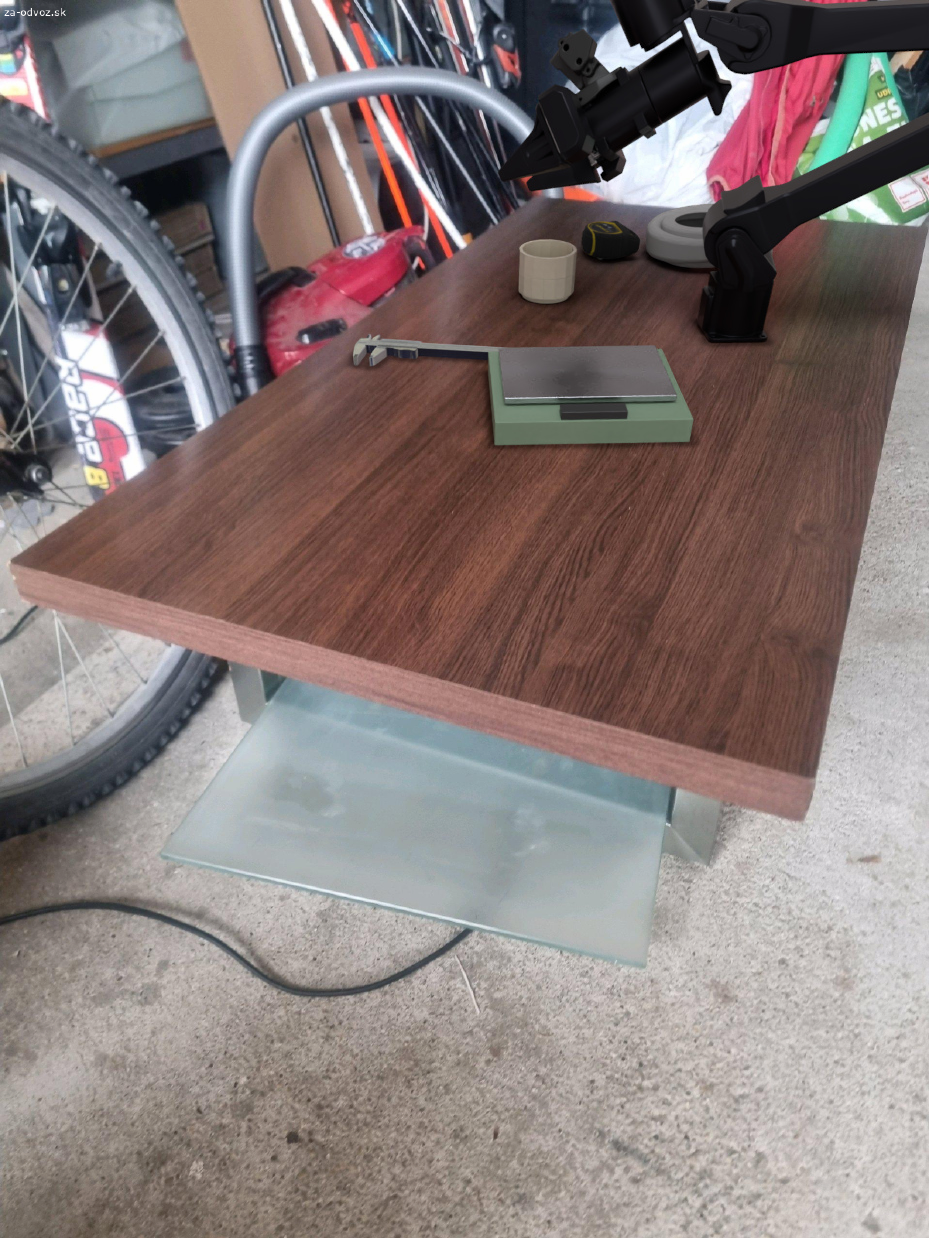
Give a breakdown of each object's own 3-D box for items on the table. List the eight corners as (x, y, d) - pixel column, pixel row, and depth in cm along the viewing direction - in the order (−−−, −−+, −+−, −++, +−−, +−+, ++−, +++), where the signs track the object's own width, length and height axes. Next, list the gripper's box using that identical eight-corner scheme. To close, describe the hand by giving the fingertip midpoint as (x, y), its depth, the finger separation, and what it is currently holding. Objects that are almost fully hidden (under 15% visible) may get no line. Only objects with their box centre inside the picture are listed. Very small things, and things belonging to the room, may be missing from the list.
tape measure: (640, 261, 115) (643, 232, 113) (593, 267, 114) (595, 237, 111) (617, 245, 120) (620, 217, 118) (572, 250, 119) (574, 222, 116)
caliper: (352, 358, 91) (356, 333, 96) (353, 367, 92) (357, 342, 97) (544, 354, 92) (539, 329, 96) (544, 364, 92) (538, 339, 97)
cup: (569, 284, 109) (573, 239, 106) (576, 304, 104) (579, 258, 101) (516, 285, 109) (517, 239, 106) (519, 305, 104) (521, 259, 101)
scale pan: (654, 350, 88) (655, 345, 88) (676, 401, 80) (677, 395, 80) (498, 353, 88) (498, 347, 88) (504, 404, 80) (504, 398, 80)
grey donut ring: (669, 241, 125) (628, 272, 115) (673, 192, 121) (630, 220, 111) (788, 252, 117) (754, 287, 108) (796, 200, 113) (762, 231, 104)
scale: (658, 370, 91) (663, 341, 89) (689, 442, 80) (695, 411, 77) (487, 373, 91) (488, 344, 89) (494, 446, 79) (495, 414, 77)
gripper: (637, 38, 91) (511, 123, 99) (594, -18, 75) (448, 89, 82) (677, 141, 93) (551, 217, 100) (644, 108, 77) (496, 202, 84)
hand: (514, 182), depth 92 cm, fingers open, 9 cm apart
